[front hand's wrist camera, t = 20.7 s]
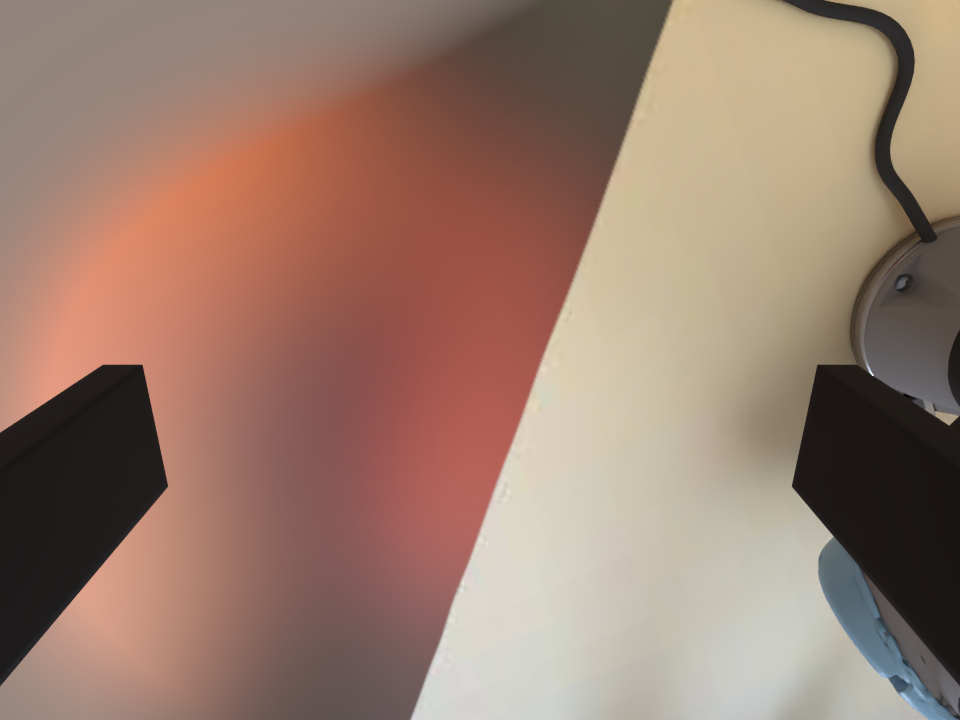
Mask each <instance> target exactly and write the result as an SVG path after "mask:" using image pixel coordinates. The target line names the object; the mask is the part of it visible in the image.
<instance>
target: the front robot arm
mask: <svg viewBox="0 0 960 720" xmlns="http://www.w3.org/2000/svg"><path fill="white" fill-rule="evenodd" d="M783 1H785V2H788V3H790V4H792V5H794V6H796V7H798V8H800V9H803V10H805V11H807V12H810V13H813V14H816V15H819V16H824V17H828V18H834V19H839V20H846V21H852V22H858V23H862V24H867V25H870V26H873V27H875V28H877V29H879V30H880V31H881V32H883V33H884V34H885V35H886V36H887V37H888V38H889V39H890V40H891V42H892V44H893V46H894V47H895V50H896V53H897V56H898V63H899V68H898V76H897V80H896V84H895V86H894V89H893V92H892V95H891V97H890V100H889V102H888V105H887V107H886V110H885V112H884V115H883V117H882V120H881V123H880V126H879V129H878V133H877V138H876V145H875V158H876V165H877V169H878V172H879V174H880V176H881V178H882V180H883V181H884V183H885V184H886V186H887V187H888V188H889V190H890V191H891V192H892V193H893V194H894V196H895V197H896V198H897V200H898V201H899V203H900V204H901V206H902V207H903V209H904V211H905V212H906V214H907V216H908V218H909V219H910V221H911V223H912V224H913V226H914V228H915V230H916V231H917V232H915V233H914V234H912V235H911V236H909V237H907V238H906V239H905V240H903V241H902V242H901V243H899V244H898V245H897V246H895V247H894V248H893V249H892V250H891V251H890V252H889V253H888V254H887V255H886V256H885V257H884V258H883V259H882V260H881V261H880V262H879V263H878V265H877V266H876V267H875V268H874V269H873V271H872V272H871V274H870V275H869V277H868V278H867V280H866V282H865V283H864V285H863V287H862V289H861V291H860V293H859V295H858V298H857V300H856V303H855V306H854V310H853V314H852V320H851V331H850V333H851V344H852V350H853V353H854V356H855V359H856V361H857V364H858V365H859V366H858V365H817V370H816V374H815V379H814V384H813V389H812V393H811V398H810V403H809V408H808V412H807V417H806V422H805V427H804V431H803V436H802V441H801V446H800V450H799V455H798V460H797V465H796V469H795V474H794V479H793V484H792V487H793V488H794V490H795V491H796V492H797V493H798V494H799V496H800V497H801V498H802V499H803V500H804V501H805V503H806V504H807V505H808V506H809V507H810V509H811V510H812V511H813V512H814V513H815V515H816V516H817V517H818V518H819V519H820V521H821V522H822V523H823V524H824V525H825V526H826V528H827V529H828V530H829V531H830V532H831V534H832V535H833V536H834V537H833V538H832V539H831V540H830V541H829V542H828V543H827V544H826V545H825V547H824V548H823V550H822V551H821V553H820V556H819V570H818V575H819V580H820V584H821V587H822V590H823V592H824V595H825V597H826V599H827V601H828V603H829V605H830V607H831V609H832V611H833V613H834V614H835V616H836V618H837V619H838V621H839V622H840V624H841V625H842V627H843V629H844V630H845V631H846V633H847V634H848V636H849V637H850V639H851V640H852V641H853V643H854V644H855V645H856V647H857V648H858V649H859V651H860V652H861V653H862V655H863V656H864V657H865V658H866V659H867V661H868V662H869V663H870V664H871V666H872V667H873V668H874V669H875V670H876V671H877V672H878V673H879V674H880V675H881V676H882V677H886V678H888V679H889V680H890V682H891V684H892V685H893V687H894V688H895V690H896V691H897V692H898V694H899V695H900V696H901V697H902V698H903V699H904V700H905V701H907V702H908V703H909V704H910V705H911V706H912V707H913V708H914V709H916V710H917V711H918V712H919V713H921V714H922V715H923V716H925V717H926V718H928V719H929V720H960V216H959V217H954V218H949V219H945V220H942V221H939V222H937V223H934V224H932V225H930V223H929V222H928V220H927V218H926V216H925V215H924V213H923V211H922V210H921V208H920V206H919V204H918V203H917V201H916V199H915V198H914V196H913V195H912V193H911V192H910V190H909V189H908V188H907V187H906V185H905V184H904V183H903V182H902V180H901V179H900V178H899V176H898V175H897V173H896V172H895V170H894V168H893V165H892V162H891V157H890V143H891V137H892V133H893V129H894V126H895V123H896V120H897V118H898V115H899V113H900V110H901V108H902V106H903V103H904V101H905V98H906V96H907V93H908V91H909V88H910V85H911V81H912V77H913V73H914V64H915V60H914V50H913V47H912V44H911V41H910V39H909V37H908V35H907V33H906V32H905V30H904V29H903V28H902V27H901V26H900V24H899V23H898V22H896V21H895V20H894V19H892V18H891V17H889V16H887V15H885V14H883V13H881V12H878V11H875V10H872V9H868V8H864V7H858V6H852V5H846V4H840V3H834V2H829V1H825V0H783ZM925 409H926V410H925ZM935 411H938V412H943V413H949V414H954V415H959V417H958V418H957V419H956V420H955V421H954V422H953V423H952V424H951V425H947V424H946V423H944V422H943V421H941V420H940V419H938V418H937V417H936V415H935ZM167 487H168V484H167V479H166V474H165V470H164V465H163V460H162V455H161V451H160V446H159V441H158V436H157V431H156V427H155V422H154V417H153V413H152V408H151V403H150V398H149V394H148V389H147V384H146V379H145V375H144V370H143V365H102V366H100V367H99V368H97V369H96V370H94V371H93V372H91V373H90V374H88V375H87V376H85V377H84V378H82V379H81V380H79V381H78V382H76V383H75V384H73V385H72V386H70V387H69V388H67V389H66V390H64V391H63V392H61V393H60V394H58V395H57V396H55V397H54V398H52V399H51V400H49V401H48V402H46V403H45V404H43V405H41V406H40V407H39V408H37V409H35V410H34V411H33V412H31V413H29V414H28V415H26V416H25V417H23V418H22V419H20V420H19V421H17V422H16V423H14V424H13V425H11V426H10V427H8V428H7V429H5V430H4V431H2V432H1V433H0V686H1V685H2V683H3V682H4V681H5V680H6V679H7V677H8V676H9V675H10V674H11V673H12V672H13V670H14V669H15V668H16V667H17V666H18V664H19V663H20V662H21V661H22V660H23V658H24V657H25V656H26V655H27V654H28V652H29V651H30V650H31V649H32V648H33V647H34V645H35V644H36V643H37V642H38V641H39V639H40V638H41V637H42V636H43V635H44V633H45V632H46V631H47V630H48V629H49V627H50V626H51V625H52V624H53V623H54V622H55V620H56V619H57V618H58V617H59V616H60V614H61V613H62V612H63V611H64V610H65V609H66V607H67V606H68V605H69V604H70V603H71V601H72V600H73V599H74V598H75V597H76V595H77V594H78V593H79V592H80V591H81V589H82V588H83V587H84V586H85V585H86V584H87V582H88V581H89V580H90V579H91V578H92V576H93V575H94V574H95V573H96V572H97V570H98V569H99V568H100V567H101V566H102V565H103V563H104V562H105V561H106V560H107V558H108V557H109V556H110V555H111V554H112V553H113V551H114V550H115V549H116V548H117V547H118V545H119V544H120V543H121V542H122V541H123V540H124V538H125V537H126V536H127V535H128V534H129V532H130V531H131V530H132V529H133V528H134V526H135V525H136V524H137V523H138V522H139V521H140V519H141V518H142V517H143V516H144V515H145V513H146V512H147V511H148V510H149V509H150V507H151V506H152V505H153V504H154V503H155V501H156V500H157V499H158V498H159V497H160V496H161V494H162V493H163V492H164V491H165V490H166V488H167Z"/></svg>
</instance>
